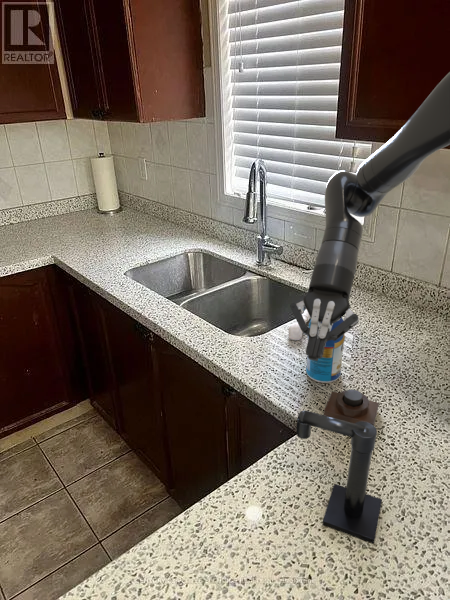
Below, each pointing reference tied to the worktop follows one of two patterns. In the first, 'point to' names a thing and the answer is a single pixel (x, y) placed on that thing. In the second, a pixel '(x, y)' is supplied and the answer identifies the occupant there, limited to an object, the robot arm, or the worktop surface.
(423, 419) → the worktop surface
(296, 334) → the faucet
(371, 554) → the worktop surface
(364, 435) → the spout
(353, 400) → the pump button
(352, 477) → the tap body
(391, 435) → the worktop surface
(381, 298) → the worktop surface
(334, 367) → the beverage bottle
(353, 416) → the brown button base
